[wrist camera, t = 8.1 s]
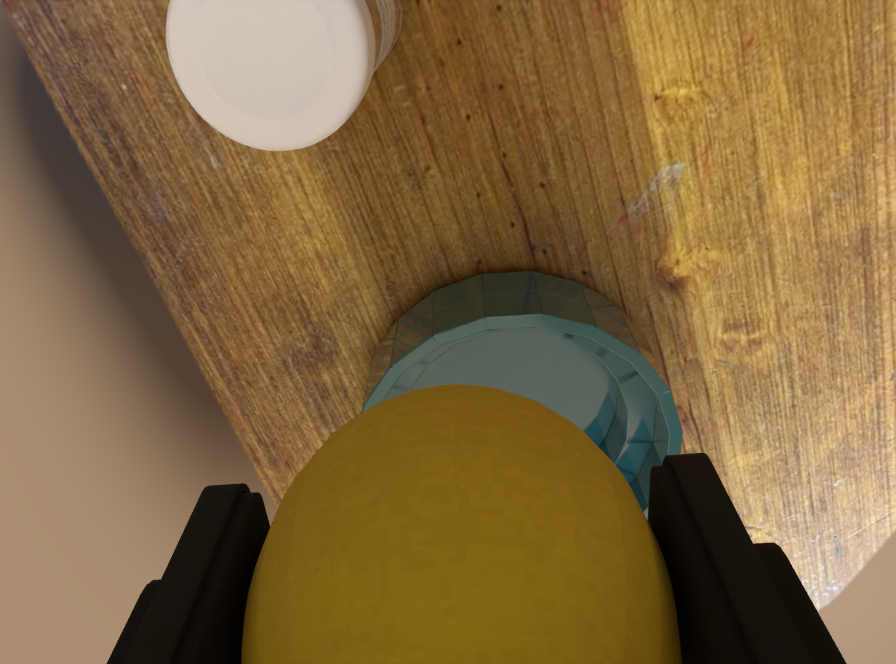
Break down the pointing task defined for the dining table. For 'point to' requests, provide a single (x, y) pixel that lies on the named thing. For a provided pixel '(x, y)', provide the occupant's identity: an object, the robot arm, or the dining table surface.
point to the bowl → (539, 361)
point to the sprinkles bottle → (278, 63)
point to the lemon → (460, 545)
